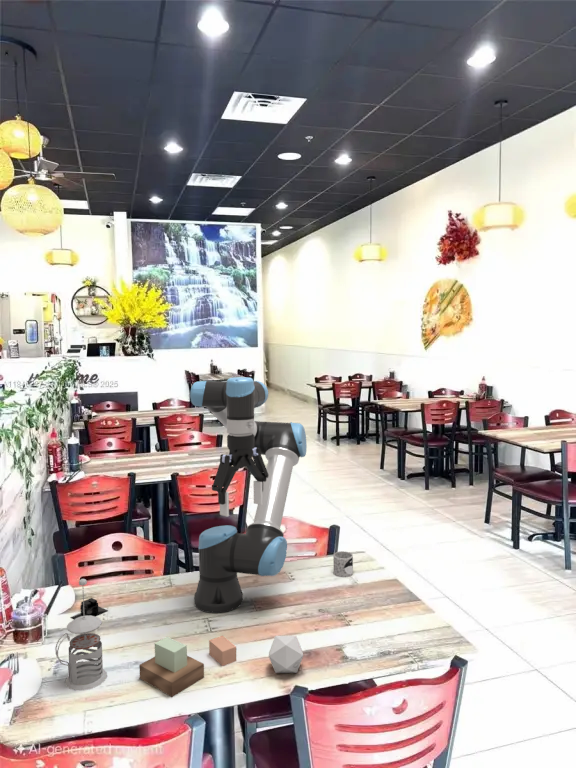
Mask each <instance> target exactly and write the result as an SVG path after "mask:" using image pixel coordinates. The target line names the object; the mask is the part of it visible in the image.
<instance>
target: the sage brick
mask: <svg viewBox="0 0 576 768" xmlns="http://www.w3.org/2000/svg"><path fill="white" fill-rule="evenodd" d="M187 656H188V645H186V644H184V643H181V641H178V640H176V639H173V638H171V637H169V636H165V637H164V638H162V639H160V640H157V642H155V643H154V657H155V663H156V664H158V665H160V666H162V667H164V668H166V669H168V670H170V671H172V672H174V673H175V672H177V671H178V670H180V669H182V668H183V667H185V666H187Z"/></svg>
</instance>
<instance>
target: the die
mask: <svg viewBox="0 0 576 768" xmlns="http://www.w3.org/2000/svg"><path fill="white" fill-rule="evenodd" d="M268 658H269V660H270V664H271V665H272V667H273V670H274V673H275V674H292V673H293V674H295V673H298V671H299V668H300V665H301V663H302V660H303V658H304V653H303V649H302V647H301V645H300V642H299V638H298V637H297V635H274V637H273V641H272V644H271V646H270V649H269V652H268Z"/></svg>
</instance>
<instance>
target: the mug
mask: <svg viewBox="0 0 576 768" xmlns="http://www.w3.org/2000/svg"><path fill="white" fill-rule="evenodd" d="M353 561H354V555H353V553H352V552H348V551H336V552H333V575H334V576H336V577H338V578H349V577H353V575H354V569H353V568H354V566H353V565H354V563H353Z"/></svg>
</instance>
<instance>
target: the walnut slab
mask: <svg viewBox="0 0 576 768" xmlns="http://www.w3.org/2000/svg"><path fill="white" fill-rule="evenodd" d="M204 678H205V664H204V663H203V662H201V661H200V660H198V659H195V658H193V657H191V656H190V655H187V666H185V667H183V668H182V669H180V670H178V671H177V672H175V673H174V672H172V671H170V670H168V669H166V668H164V667H162V666H160V665H158V664H156V663H155V656H153V657H151V658H150V659H148V660H146V661H144V662H142V663H140V664H139V679H140V680H142V681H143V682H144V683H145V682H146V684H148V685H150V686H152V687H153V688H156V689H158V690H159V691H160V692H163V693H164V694H166V695H168V696H170V697H171V698H173V697H175V696H176V695H178V694H180V693H181V692H183V691H185V690H186V689H188V688H190V687H191V686H192V685H194V684H196V683H198V682H200V681H201V680H203V679H204Z"/></svg>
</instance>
